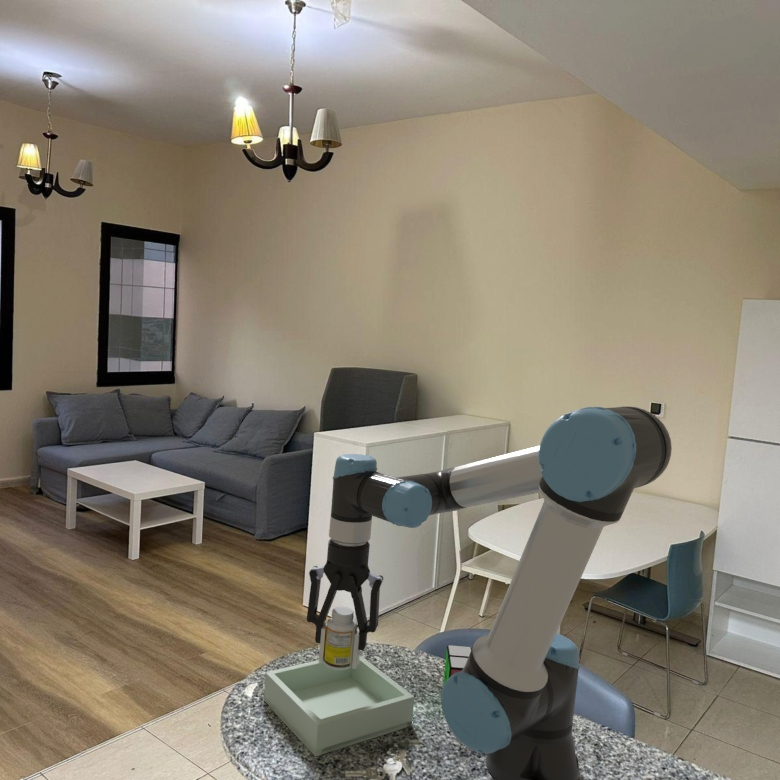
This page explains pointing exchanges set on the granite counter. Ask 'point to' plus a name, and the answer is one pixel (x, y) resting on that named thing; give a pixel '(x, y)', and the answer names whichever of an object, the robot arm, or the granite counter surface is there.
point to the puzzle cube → (455, 660)
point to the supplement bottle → (340, 639)
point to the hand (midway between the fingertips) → (338, 662)
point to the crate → (337, 704)
